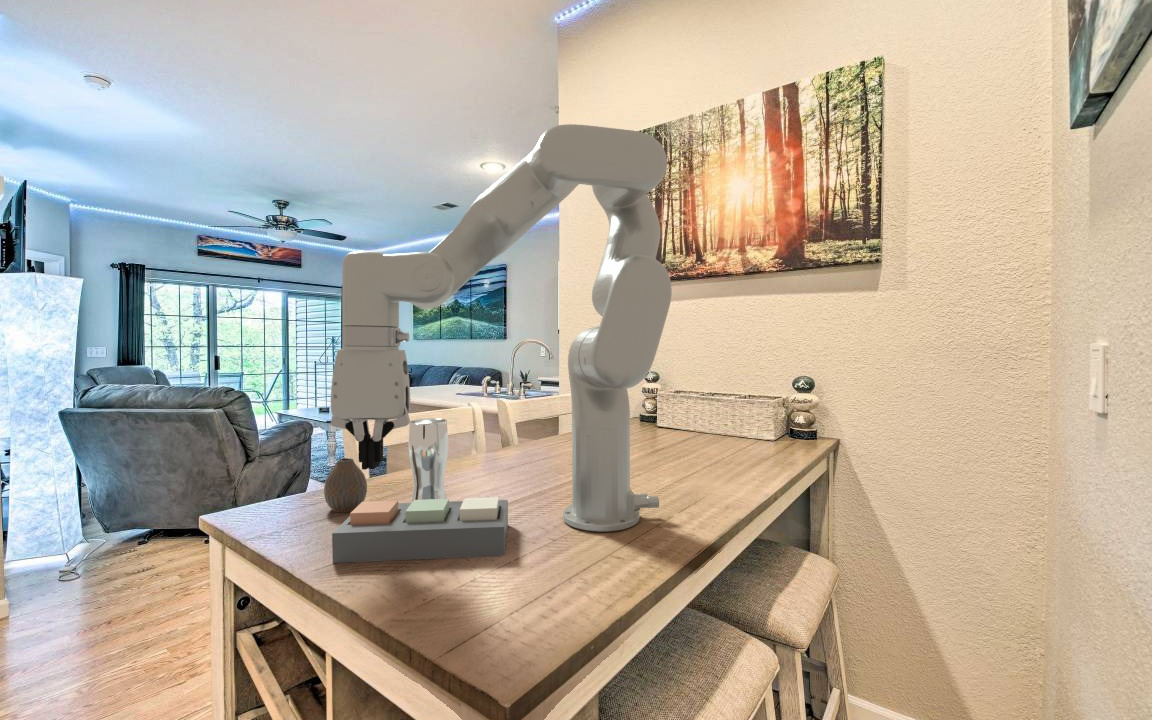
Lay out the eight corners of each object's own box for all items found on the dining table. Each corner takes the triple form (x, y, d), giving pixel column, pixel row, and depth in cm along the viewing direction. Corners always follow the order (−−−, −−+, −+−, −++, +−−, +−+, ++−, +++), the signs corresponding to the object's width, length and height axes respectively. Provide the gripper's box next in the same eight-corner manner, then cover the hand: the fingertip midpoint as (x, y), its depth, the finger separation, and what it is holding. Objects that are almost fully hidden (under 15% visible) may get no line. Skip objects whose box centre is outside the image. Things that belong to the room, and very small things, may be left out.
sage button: (449, 524, 77) (448, 498, 77) (443, 537, 72) (443, 509, 72) (414, 526, 77) (413, 499, 77) (405, 539, 72) (405, 511, 71)
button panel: (507, 524, 81) (507, 499, 81) (504, 555, 70) (504, 526, 69) (362, 529, 79) (361, 504, 79) (332, 563, 67) (332, 533, 67)
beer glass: (421, 495, 97) (420, 417, 97) (455, 497, 96) (454, 418, 95) (401, 507, 90) (400, 423, 90) (438, 509, 89) (436, 424, 88)
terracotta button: (398, 526, 77) (398, 500, 76) (389, 539, 71) (388, 511, 71) (362, 528, 76) (362, 501, 76) (350, 541, 71) (350, 513, 71)
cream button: (499, 523, 78) (498, 497, 78) (496, 535, 73) (496, 508, 73) (464, 524, 77) (464, 498, 77) (460, 537, 72) (459, 509, 72)
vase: (351, 516, 86) (350, 465, 85) (315, 513, 87) (314, 463, 87) (375, 503, 92) (374, 455, 92) (341, 501, 94) (340, 454, 94)
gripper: (429, 340, 77) (429, 461, 78) (327, 339, 76) (327, 461, 76) (418, 340, 70) (418, 473, 70) (305, 339, 68) (305, 474, 69)
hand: (371, 467), depth 73 cm, fingers closed
